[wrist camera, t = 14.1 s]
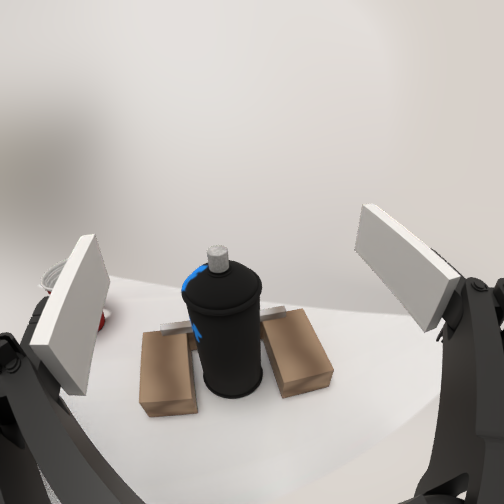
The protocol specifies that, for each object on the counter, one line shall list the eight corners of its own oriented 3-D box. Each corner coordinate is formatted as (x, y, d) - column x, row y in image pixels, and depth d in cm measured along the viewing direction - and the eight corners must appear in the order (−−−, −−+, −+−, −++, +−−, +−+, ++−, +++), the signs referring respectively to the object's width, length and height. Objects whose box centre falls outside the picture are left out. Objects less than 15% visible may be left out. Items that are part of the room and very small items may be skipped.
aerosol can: (268, 357, 40) (269, 233, 29) (254, 404, 33) (248, 282, 23) (214, 347, 42) (194, 227, 31) (194, 391, 35) (157, 269, 24)
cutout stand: (149, 417, 31) (135, 397, 28) (150, 349, 41) (140, 326, 38) (328, 386, 35) (335, 364, 32) (300, 326, 45) (303, 302, 42)
